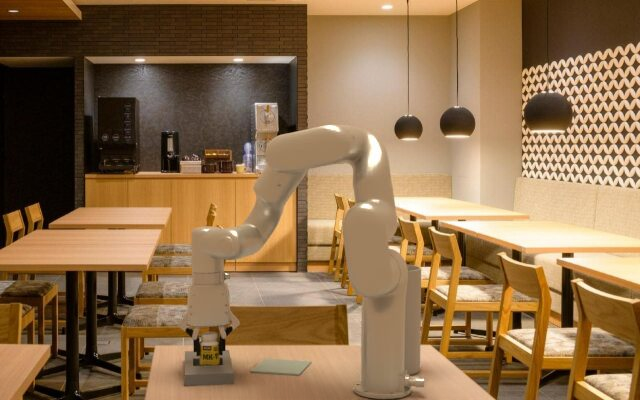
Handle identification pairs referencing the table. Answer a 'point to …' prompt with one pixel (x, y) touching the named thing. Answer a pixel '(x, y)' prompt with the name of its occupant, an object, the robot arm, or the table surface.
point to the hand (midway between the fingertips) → (209, 353)
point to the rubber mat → (281, 367)
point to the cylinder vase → (412, 320)
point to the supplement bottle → (209, 349)
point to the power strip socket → (208, 370)
